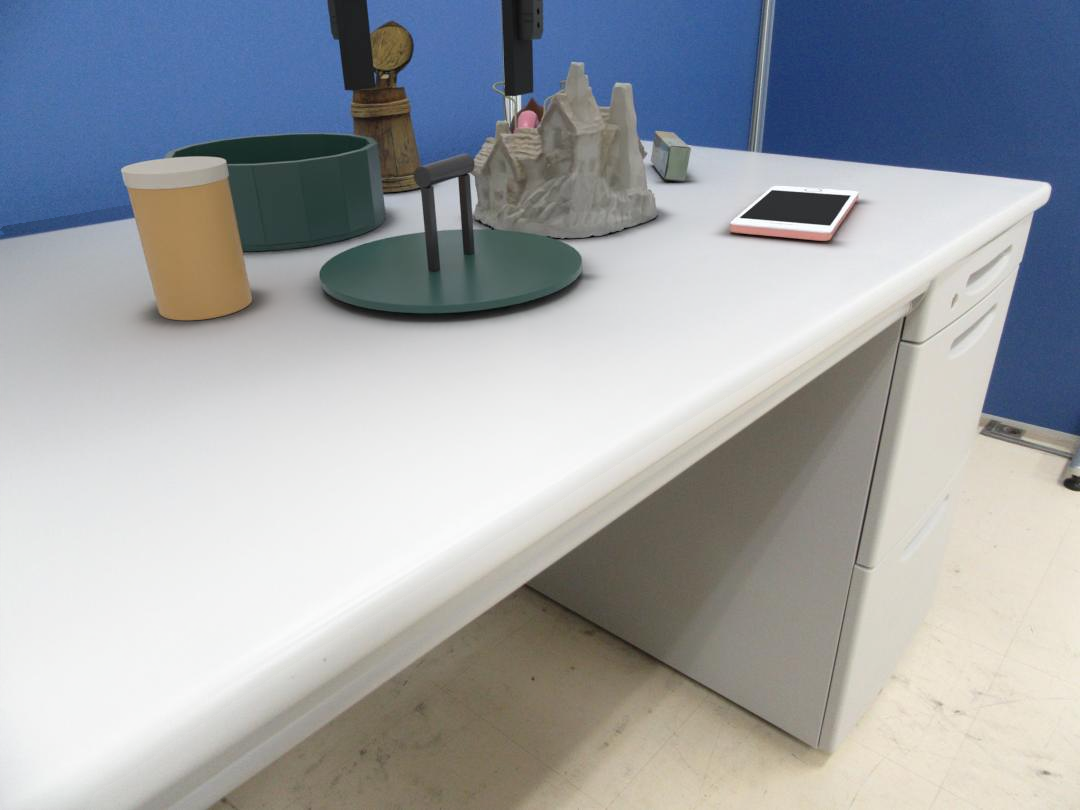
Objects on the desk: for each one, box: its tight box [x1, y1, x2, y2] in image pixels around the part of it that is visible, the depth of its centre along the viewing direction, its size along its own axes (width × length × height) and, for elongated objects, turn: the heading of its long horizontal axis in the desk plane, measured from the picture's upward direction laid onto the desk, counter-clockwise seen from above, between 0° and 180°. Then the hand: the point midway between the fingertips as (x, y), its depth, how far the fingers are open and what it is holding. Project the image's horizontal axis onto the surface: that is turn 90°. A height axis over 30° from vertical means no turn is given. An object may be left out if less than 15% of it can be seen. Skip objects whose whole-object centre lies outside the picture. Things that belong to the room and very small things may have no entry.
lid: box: [318, 153, 583, 314], centre depth 60 cm, size 20×20×9 cm
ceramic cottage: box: [470, 61, 659, 240], centre depth 76 cm, size 16×16×15 cm
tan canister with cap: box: [120, 156, 253, 321], centre depth 55 cm, size 7×7×10 cm
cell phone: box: [729, 185, 860, 242], centre depth 77 cm, size 9×18×1 cm, turn 153°
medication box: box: [650, 130, 692, 183], centre depth 98 cm, size 12×3×4 cm, turn 1°
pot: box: [163, 132, 387, 252], centre depth 78 cm, size 19×19×8 cm
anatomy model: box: [492, 80, 566, 134], centre depth 100 cm, size 10×14×15 cm
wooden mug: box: [350, 20, 422, 194], centre depth 94 cm, size 9×14×18 cm, turn 175°
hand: (435, 92), depth 56 cm, fingers open, 13 cm apart
